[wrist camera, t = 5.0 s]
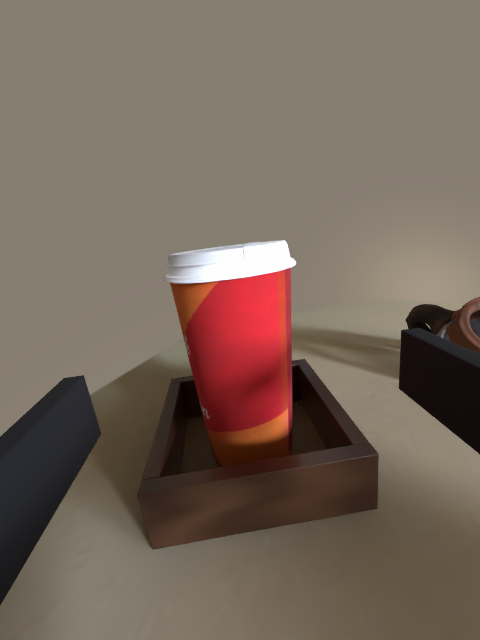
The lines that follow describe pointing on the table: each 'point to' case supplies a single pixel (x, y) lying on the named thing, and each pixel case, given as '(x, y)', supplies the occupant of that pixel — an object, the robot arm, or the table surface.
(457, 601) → the table surface
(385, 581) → the table surface
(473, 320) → the pottery mug
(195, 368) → the paper cup
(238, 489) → the wooden tray
